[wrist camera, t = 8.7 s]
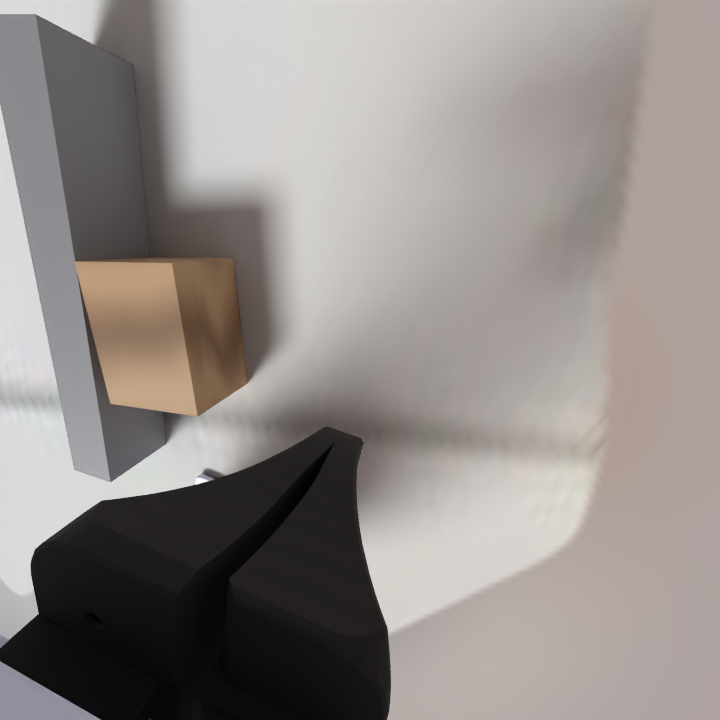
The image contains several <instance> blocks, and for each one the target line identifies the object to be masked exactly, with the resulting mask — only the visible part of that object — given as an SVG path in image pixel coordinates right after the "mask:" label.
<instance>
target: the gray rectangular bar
mask: <svg viewBox="0 0 720 720" xmlns="http://www.w3.org/2000/svg"><path fill="white" fill-rule="evenodd" d="M0 104H1V109H2V114H3V119H4V124H5V129H6V134H7V139H8V144H9V149H10V154H11V159H12V163H13V168H14V173H15V178H16V183H17V188H18V193H19V198H20V203H21V208H22V213H23V218H24V223H25V228H26V233H27V238H28V243H29V248H30V253H31V258H32V262H33V267H34V272H35V277H36V282H37V287H38V292H39V297H40V302H41V307H42V312H43V317H44V322H45V327H46V332H47V337H48V342H49V347H50V352H51V356H52V361H53V366H54V371H55V376H56V381H57V386H58V391H59V396H60V401H61V406H62V411H63V416H64V421H65V426H66V431H67V436H68V441H69V446H70V451H71V455H72V460H73V465H74V470H76V471H79V472H82V473H85V474H88V475H91V476H94V477H97V478H100V479H103V480H105V481H108V482H112V481H113V480H114V479H116V478H117V477H119V476H120V475H122V474H123V473H125V472H126V471H127V470H129V469H130V468H132V467H133V466H135V465H136V464H138V463H139V462H141V461H142V460H143V459H145V458H146V457H148V456H149V455H151V454H152V453H154V452H155V451H156V450H158V449H159V448H161V447H162V446H164V445H165V444H166V437H165V425H164V414H163V411H157V410H150V409H143V408H136V407H129V406H122V405H116V404H110V400H109V396H108V392H107V388H106V384H105V380H104V377H103V373H102V369H101V365H100V361H99V357H98V353H97V349H96V345H95V341H94V337H93V333H92V329H91V325H90V321H89V317H88V313H87V310H86V306H85V302H84V298H83V294H82V290H81V286H80V282H79V278H78V274H77V270H76V266H75V262H74V261H91V260H109V259H126V258H144V257H150V252H149V240H148V229H147V217H146V206H145V194H144V182H143V171H142V159H141V148H140V136H139V125H138V113H137V101H136V90H135V78H134V67H133V65H131V64H129V63H127V62H126V61H124V60H122V59H120V58H118V57H116V56H114V55H112V54H110V53H108V52H106V51H105V50H103V49H101V48H99V47H97V46H95V45H93V44H91V43H89V42H87V41H85V40H83V39H82V38H80V37H78V36H76V35H74V34H72V33H70V32H68V31H66V30H64V29H62V28H61V27H59V26H57V25H55V24H53V23H51V22H49V21H47V20H45V19H43V18H41V17H40V16H38V15H36V14H0Z"/></svg>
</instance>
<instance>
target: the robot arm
mask: <svg viewBox="0 0 720 720" xmlns="http://www.w3.org/2000/svg"><path fill="white" fill-rule="evenodd" d="M362 446H363V441H362V439H361V438H358V437H356V436H353V435H350V434H347V433H344V432H341V431H339V430H336V429H333V428H330V427H324V428H322V429H321V430H319V431H317V432H316V433H314V434H313V435H311V436H309V437H308V438H306V439H304V440H303V441H301V442H299V443H297V444H296V445H294V446H292V447H290V448H288V449H287V450H285V451H283V452H281V453H279V454H277V455H275V456H273V457H271V458H269V459H267V460H265V461H263V462H260V463H258V464H256V465H254V466H251V467H249V468H247V469H244V470H241V471H239V472H236V473H233V474H230V475H227V476H224V477H221V478H217V479H214V478H211V477H209V476H206V475H203V474H201V475H199V476H198V477H197V478H196V481H195V485H193V486H189V487H184V488H180V489H175V490H170V491H165V492H160V493H155V494H149V495H142V496H135V497H128V498H120V499H113V500H104V501H101V502H99V503H98V504H96V505H95V506H93V507H92V508H90V509H89V510H87V511H86V512H84V513H83V514H82V515H80V516H79V517H78V518H76V519H75V520H73V521H72V522H71V523H69V524H68V525H67V526H65V527H64V528H63V529H61V530H60V531H58V532H57V533H56V534H54V535H53V536H52V537H50V538H49V539H47V540H46V541H45V542H43V543H42V544H41V545H40V546H39V547H37V548H36V549H35V551H34V554H33V557H32V560H31V576H32V581H33V586H34V591H35V596H36V601H37V606H38V612H39V614H38V615H37V616H36V617H35V618H34V619H33V620H31V621H30V622H29V623H28V624H27V625H26V626H25V627H23V628H22V629H21V630H20V631H19V632H18V633H17V634H16V635H14V636H13V637H12V638H11V639H10V640H9V639H7V638H5V637H3V636H1V635H0V720H387V717H388V713H389V706H390V692H391V691H390V690H391V671H390V653H389V642H388V629H387V626H386V623H385V620H384V618H383V615H382V612H381V609H380V606H379V603H378V600H377V597H376V595H375V591H374V588H373V584H372V581H371V578H370V574H369V570H368V566H367V562H366V558H365V553H364V549H363V545H362V539H361V533H360V527H359V519H358V510H357V494H356V478H357V465H358V461H359V457H360V454H361V450H362Z"/></svg>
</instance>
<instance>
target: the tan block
mask: <svg viewBox="0 0 720 720" xmlns="http://www.w3.org/2000/svg"><path fill="white" fill-rule="evenodd" d="M74 262H75V266H76V270H77V274H78V278H79V282H80V286H81V290H82V294H83V298H84V302H85V306H86V310H87V313H88V317H89V321H90V325H91V329H92V333H93V337H94V341H95V345H96V349H97V353H98V357H99V361H100V365H101V369H102V373H103V377H104V380H105V384H106V388H107V392H108V396H109V400H110V404H116V405H122V406H129V407H136V408H143V409H150V410H157V411H163V412H170V413H177V414H184V415H191V416H197V417H198V416H199V415H201V414H202V413H204V412H205V411H207V410H208V409H210V408H211V407H213V406H214V405H216V404H217V403H219V402H220V401H222V400H223V399H225V398H226V397H228V396H229V395H231V394H232V393H234V392H235V391H237V390H238V389H240V388H241V387H243V386H244V385H246V384H247V383H248V382H247V374H246V365H245V356H244V347H243V339H242V330H241V321H240V312H239V304H238V295H237V286H236V277H235V269H234V260H233V258H182V257H144V258H126V259H109V260H91V261H74Z"/></svg>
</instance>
